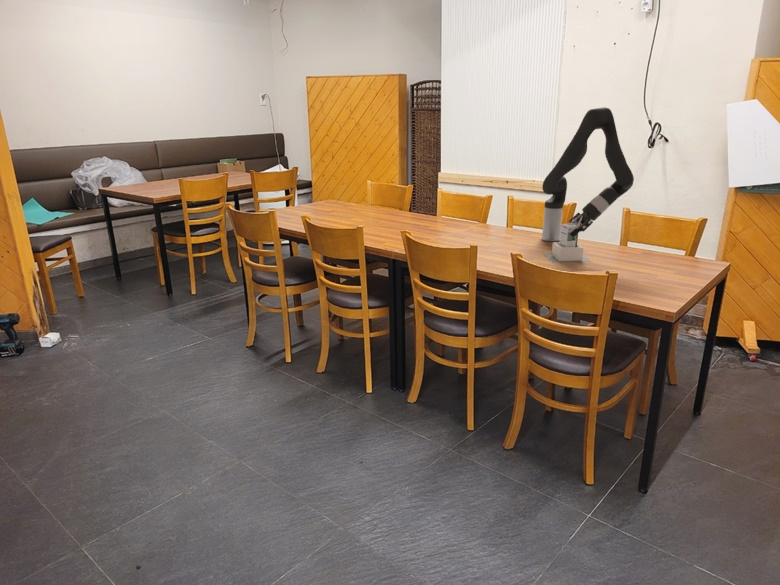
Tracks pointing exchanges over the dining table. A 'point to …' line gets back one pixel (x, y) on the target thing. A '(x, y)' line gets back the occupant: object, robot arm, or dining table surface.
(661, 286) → the dining table surface
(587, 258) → the slate board
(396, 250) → the dining table surface
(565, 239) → the syrup box
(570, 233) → the robot arm
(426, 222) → the dining table surface
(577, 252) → the ceramic holder
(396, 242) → the dining table surface
